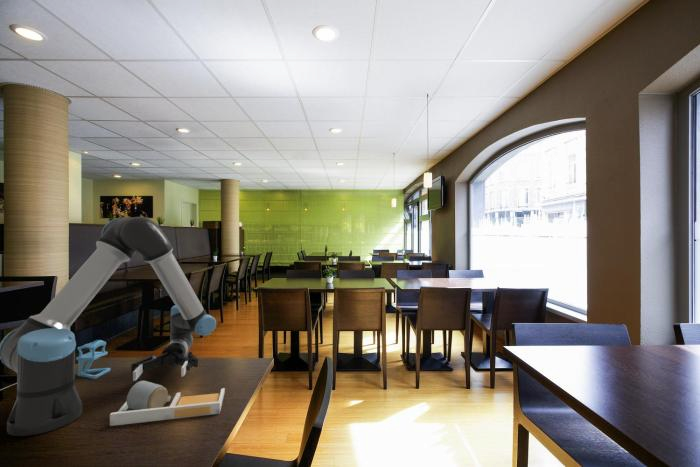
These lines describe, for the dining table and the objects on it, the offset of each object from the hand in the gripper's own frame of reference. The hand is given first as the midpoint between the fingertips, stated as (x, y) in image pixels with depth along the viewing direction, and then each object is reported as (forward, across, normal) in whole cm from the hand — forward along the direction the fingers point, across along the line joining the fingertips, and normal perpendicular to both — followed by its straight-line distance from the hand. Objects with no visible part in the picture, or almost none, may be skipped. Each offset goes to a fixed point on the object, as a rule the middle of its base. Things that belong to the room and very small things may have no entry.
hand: (158, 374), depth 108 cm
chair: (-24, +28, -7) cm, 37 cm away
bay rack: (+10, -6, -6) cm, 13 cm away
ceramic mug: (+8, 0, -7) cm, 11 cm away
